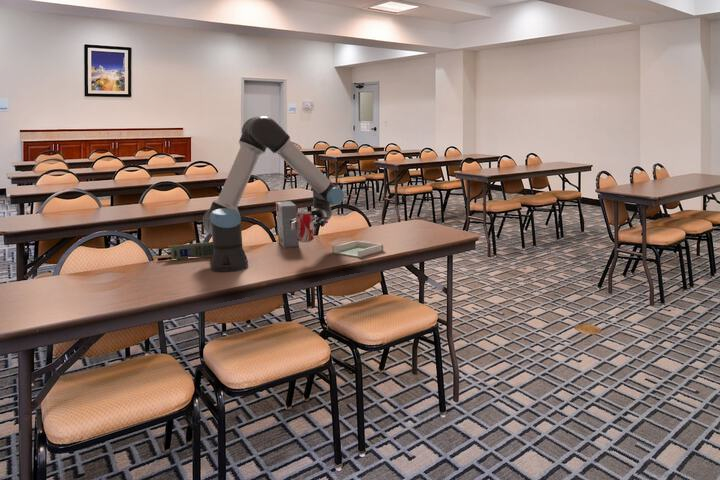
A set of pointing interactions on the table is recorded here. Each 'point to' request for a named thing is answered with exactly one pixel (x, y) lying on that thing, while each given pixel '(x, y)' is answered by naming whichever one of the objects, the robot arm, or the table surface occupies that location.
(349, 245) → the box
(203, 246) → the handheld radio
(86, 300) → the table surface
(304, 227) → the soda can
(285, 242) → the hard drive box
